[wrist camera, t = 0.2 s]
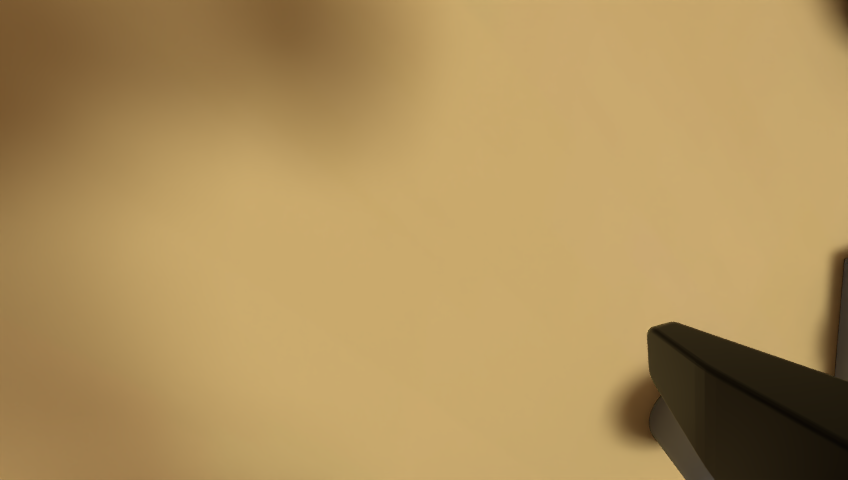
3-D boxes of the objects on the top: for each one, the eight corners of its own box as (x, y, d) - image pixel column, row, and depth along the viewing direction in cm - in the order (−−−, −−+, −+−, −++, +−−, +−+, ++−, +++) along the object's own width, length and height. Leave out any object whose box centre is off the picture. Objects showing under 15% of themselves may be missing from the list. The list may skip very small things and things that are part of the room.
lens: (736, 431, 31) (843, 544, 24) (651, 458, 31) (735, 579, 24) (735, 361, 29) (852, 464, 22) (643, 390, 28) (734, 502, 22)
